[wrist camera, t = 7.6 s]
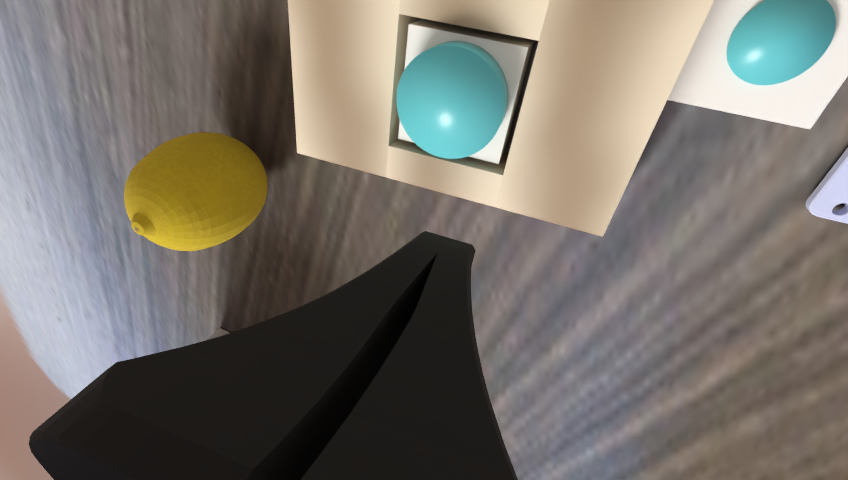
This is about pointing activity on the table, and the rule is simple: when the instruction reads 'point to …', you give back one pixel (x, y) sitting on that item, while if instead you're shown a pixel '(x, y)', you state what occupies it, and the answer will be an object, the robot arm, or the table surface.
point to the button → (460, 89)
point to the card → (768, 59)
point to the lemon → (195, 191)
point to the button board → (537, 106)
